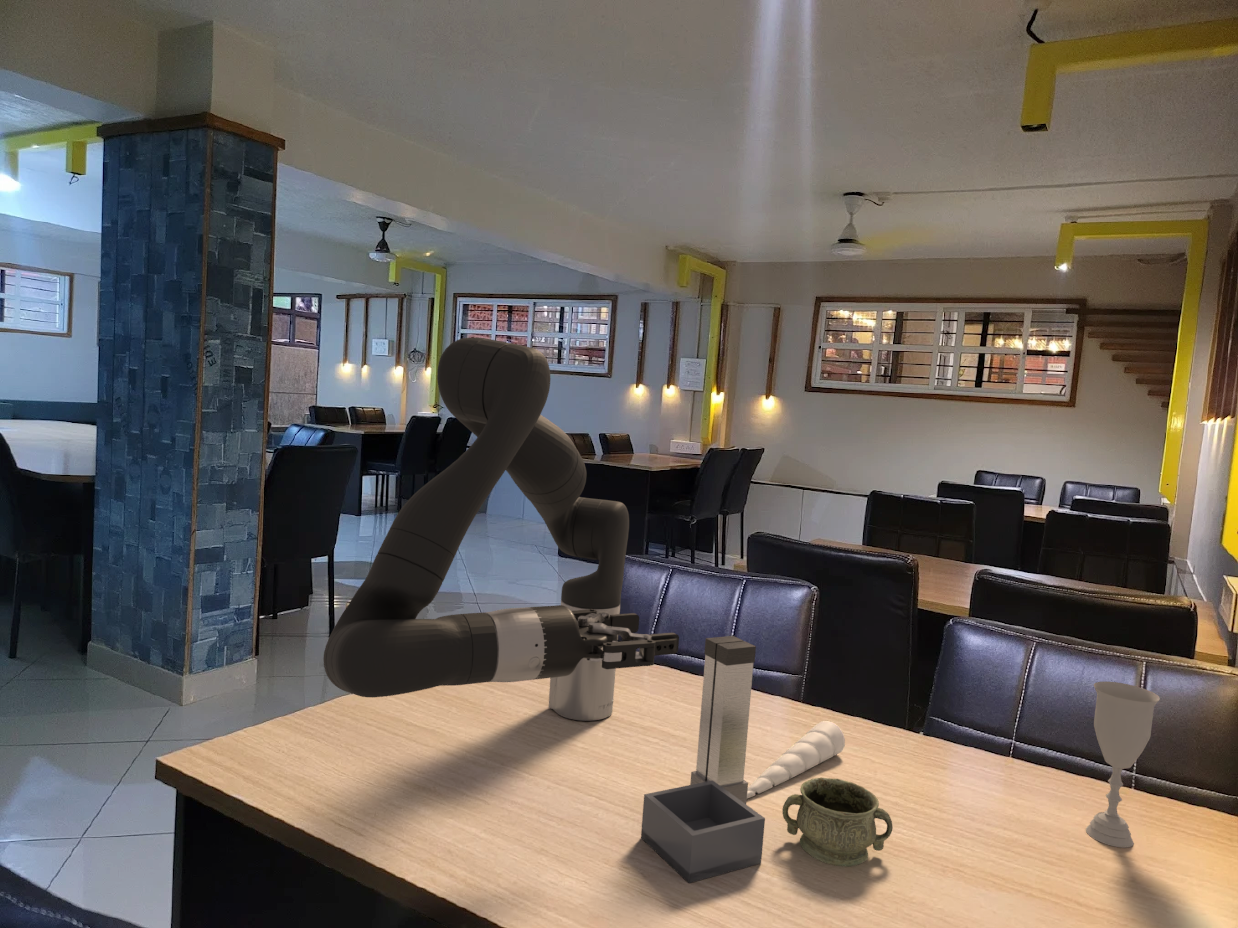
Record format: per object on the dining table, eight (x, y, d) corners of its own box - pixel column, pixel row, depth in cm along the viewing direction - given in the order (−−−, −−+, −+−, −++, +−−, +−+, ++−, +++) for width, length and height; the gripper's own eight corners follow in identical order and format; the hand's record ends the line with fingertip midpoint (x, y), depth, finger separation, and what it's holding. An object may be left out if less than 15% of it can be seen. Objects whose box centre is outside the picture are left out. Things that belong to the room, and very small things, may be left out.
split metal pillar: (712, 813, 97) (726, 649, 96) (689, 794, 102) (701, 637, 100) (746, 806, 100) (759, 646, 99) (721, 788, 104) (734, 635, 103)
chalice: (1142, 858, 94) (1161, 706, 93) (1075, 838, 98) (1092, 692, 96) (1142, 833, 100) (1159, 690, 99) (1078, 815, 104) (1094, 677, 103)
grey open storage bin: (688, 883, 83) (692, 835, 82) (640, 837, 91) (644, 794, 90) (761, 863, 87) (765, 818, 87) (709, 821, 95) (712, 780, 95)
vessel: (779, 858, 89) (784, 803, 88) (780, 820, 97) (784, 769, 97) (894, 879, 86) (900, 822, 86) (885, 837, 95) (890, 785, 94)
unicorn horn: (716, 791, 104) (719, 754, 103) (816, 747, 120) (819, 715, 120) (746, 806, 100) (749, 768, 100) (845, 758, 117) (848, 725, 117)
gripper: (558, 626, 79) (694, 615, 87) (503, 592, 92) (627, 586, 100) (553, 701, 80) (689, 684, 88) (499, 658, 92) (623, 646, 100)
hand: (656, 632), depth 94 cm, fingers open, 8 cm apart
